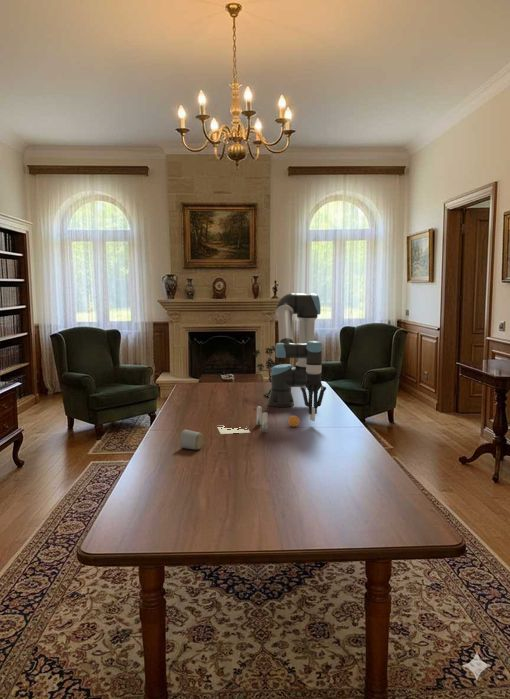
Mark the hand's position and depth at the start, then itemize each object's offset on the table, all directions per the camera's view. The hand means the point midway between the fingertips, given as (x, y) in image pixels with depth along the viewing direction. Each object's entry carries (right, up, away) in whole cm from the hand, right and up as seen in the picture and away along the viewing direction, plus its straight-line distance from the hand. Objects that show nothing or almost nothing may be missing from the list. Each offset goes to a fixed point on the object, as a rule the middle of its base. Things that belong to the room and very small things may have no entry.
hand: (312, 420), depth 247 cm
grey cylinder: (-55, -7, -35) cm, 65 cm away
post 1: (-26, -2, +1) cm, 26 cm away
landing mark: (-39, -3, -8) cm, 40 cm away
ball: (-9, 0, -2) cm, 9 cm away
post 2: (-24, -4, -11) cm, 26 cm away
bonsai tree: (-18, +5, +66) cm, 68 cm away
